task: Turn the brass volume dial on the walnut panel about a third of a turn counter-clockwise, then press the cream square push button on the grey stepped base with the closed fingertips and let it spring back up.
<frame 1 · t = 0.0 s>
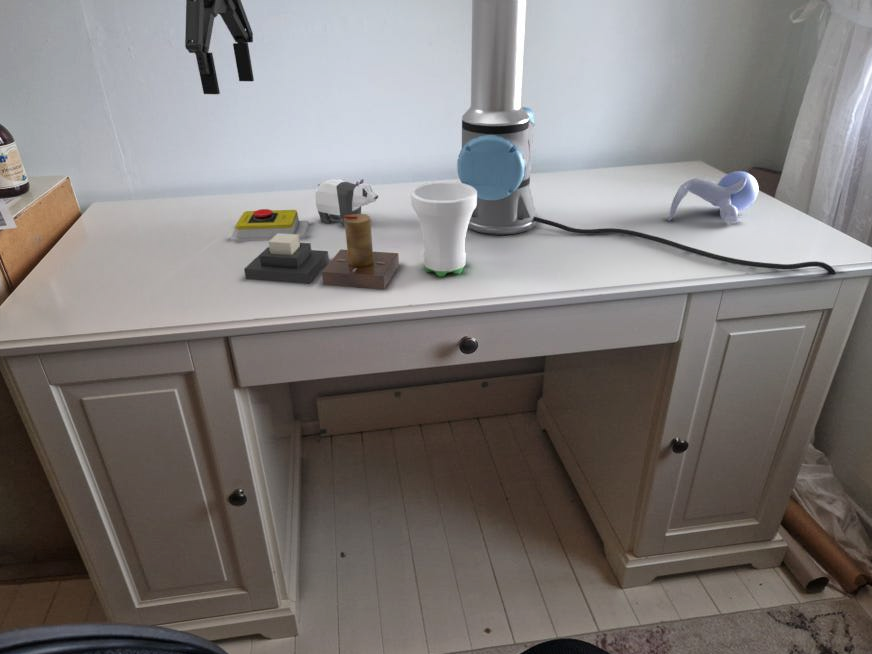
hand: (230, 87, 115), 28 cm above the table, tool pointing down, fingers open, 13 cm apart
seal: (712, 217, 133), on the table
emergency button: (271, 233, 130), on the table
giant panda: (347, 223, 134), on the table
volume panel: (362, 275, 112), on the table
cream square push button: (284, 244, 112), point 5 cm above the table, slide at 0.1 cm
volume knob: (359, 239, 108), point 7 cm above the table, hinge at 0.0°
cup: (444, 269, 113), on the table
grey stepped base: (288, 269, 114), on the table
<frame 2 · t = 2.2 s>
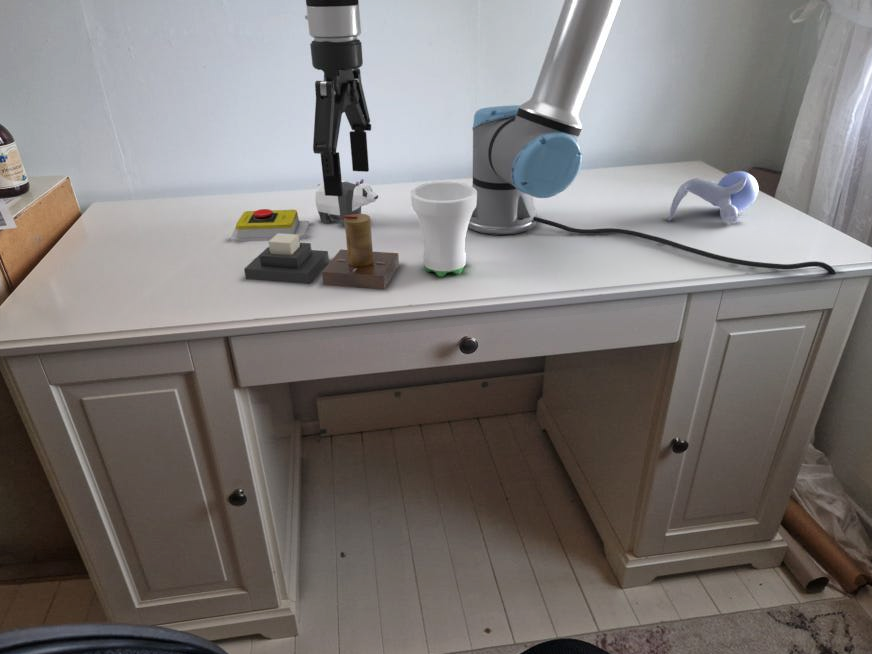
hand: (348, 182, 104), 16 cm above the table, tool pointing down, fingers open, 13 cm apart
nothing on the table moved.
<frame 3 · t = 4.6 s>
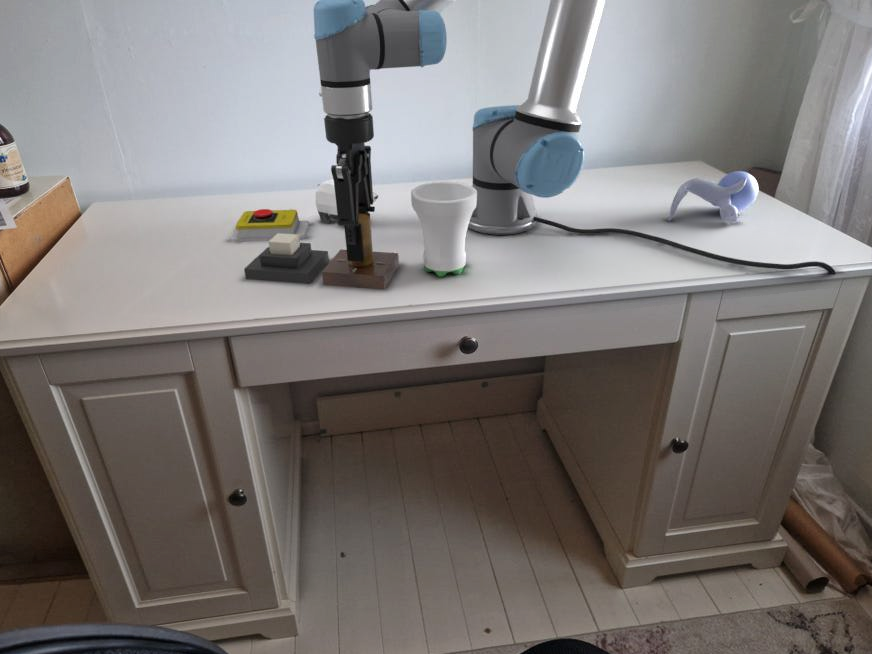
hand: (360, 254, 109), 4 cm above the table, tool pointing down, fingers closed on volume knob, 4 cm apart
volume knob: (359, 239, 108), point 7 cm above the table, hinge at -0.1°, touching gripper
everything else where it was.
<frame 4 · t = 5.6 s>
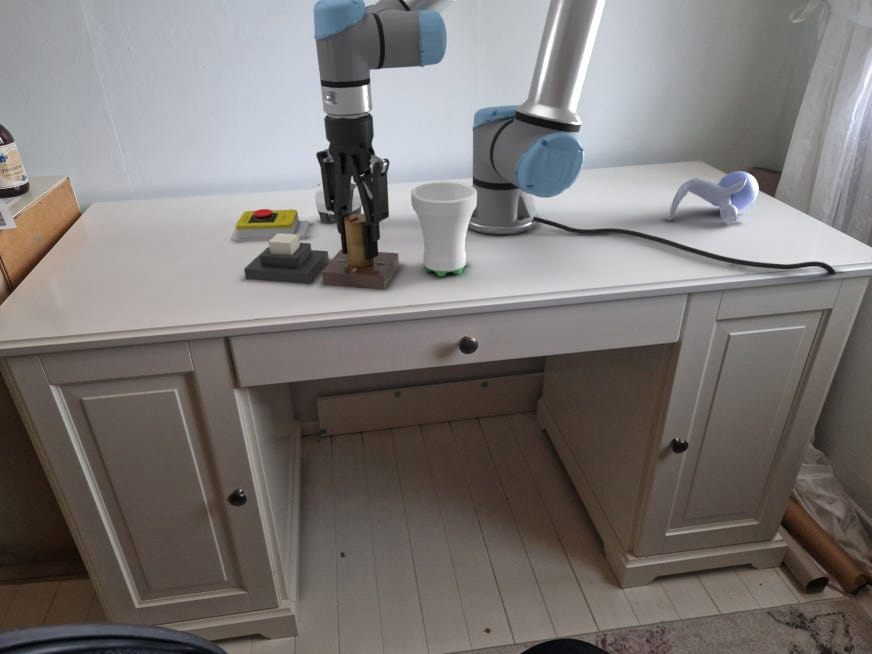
hand: (360, 254, 109), 4 cm above the table, tool pointing down, fingers closed on volume knob, 4 cm apart
volume knob: (359, 239, 108), point 7 cm above the table, hinge at 67.5°, touching gripper
everything else where it was.
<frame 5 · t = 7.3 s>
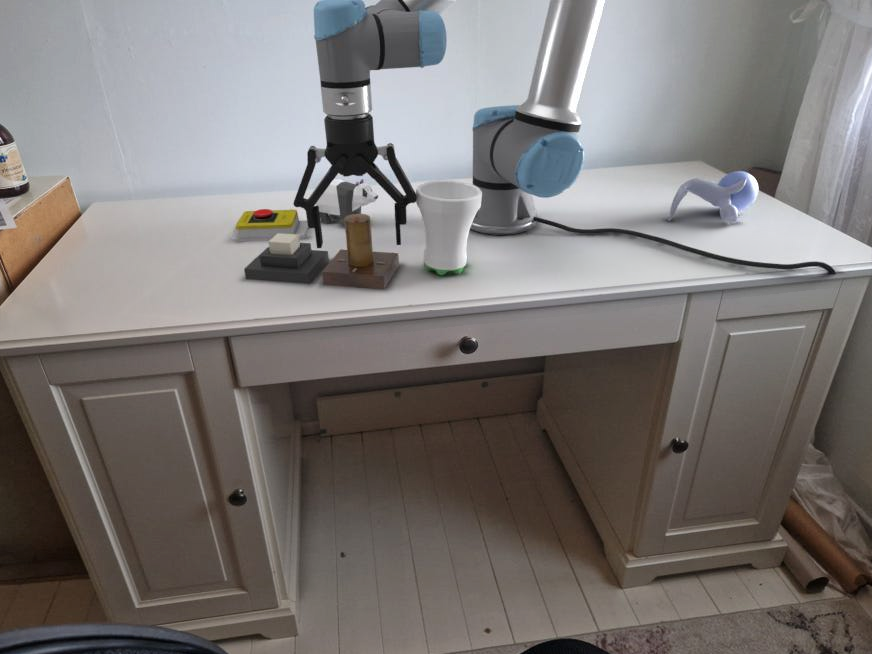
hand: (359, 243, 108), 6 cm above the table, tool pointing down, fingers open, 13 cm apart
volume knob: (359, 239, 108), point 7 cm above the table, hinge at 104.3°
cup: (444, 268, 113), on the table, touching hand
everything else where it was.
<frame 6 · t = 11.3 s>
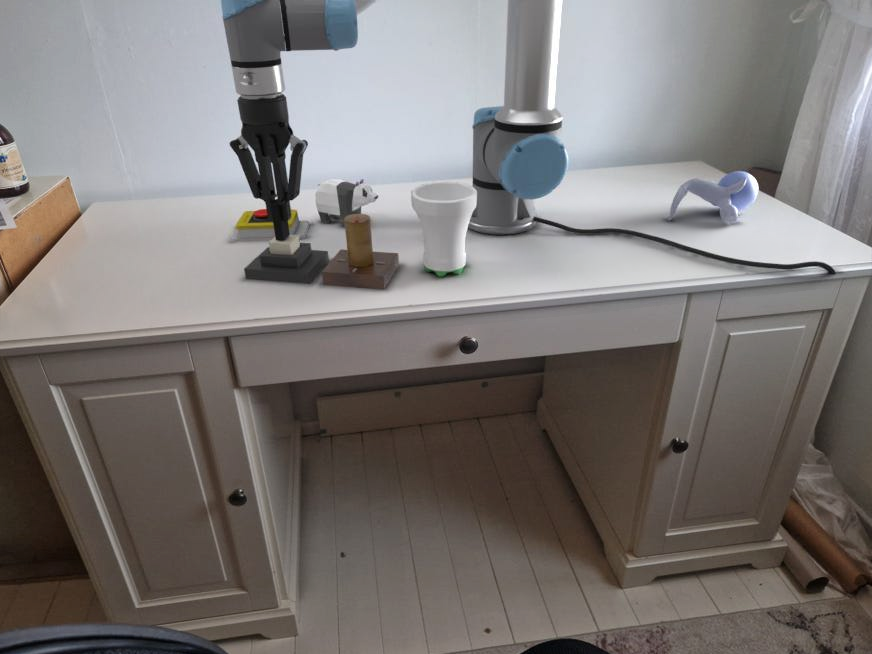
hand: (282, 237, 111), 6 cm above the table, tool pointing down, fingers closed
cream square push button: (284, 245, 112), point 5 cm above the table, slide at -0.1 cm, touching gripper
cup: (444, 269, 113), on the table
everything else where it was.
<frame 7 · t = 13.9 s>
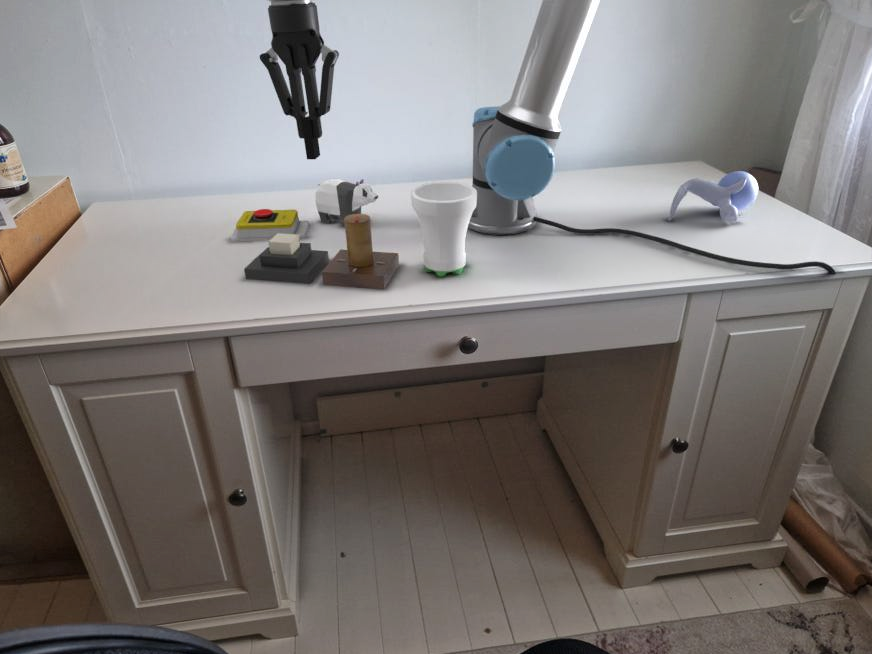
hand: (313, 157, 110), 18 cm above the table, tool pointing down, fingers closed
cream square push button: (284, 244, 112), point 5 cm above the table, slide at 0.1 cm
everything else where it was.
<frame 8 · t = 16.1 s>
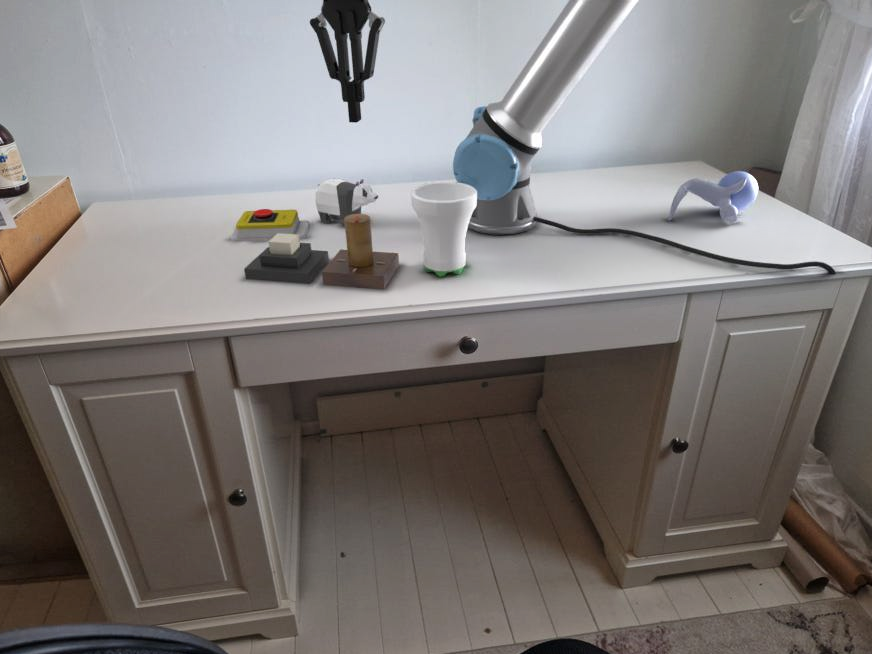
hand: (355, 120, 115), 22 cm above the table, tool pointing down, fingers closed
nothing on the table moved.
at the end: volume knob at +104° (first picture: +0°); cream square push button pushed in 1.2 cm at the most during the clip, back to where it started at the end; cream square push button slide at 0.1 cm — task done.
